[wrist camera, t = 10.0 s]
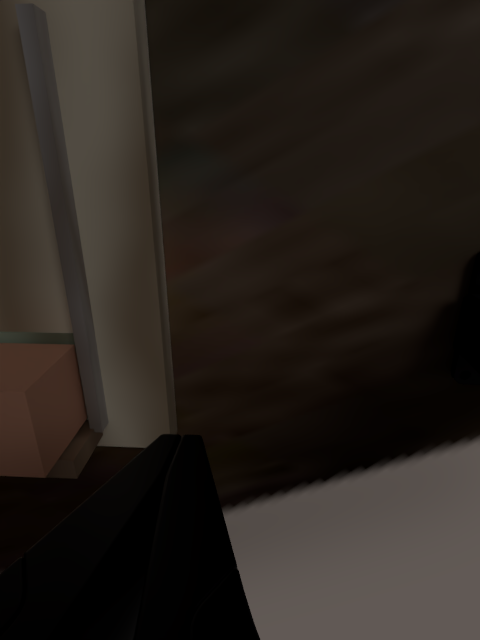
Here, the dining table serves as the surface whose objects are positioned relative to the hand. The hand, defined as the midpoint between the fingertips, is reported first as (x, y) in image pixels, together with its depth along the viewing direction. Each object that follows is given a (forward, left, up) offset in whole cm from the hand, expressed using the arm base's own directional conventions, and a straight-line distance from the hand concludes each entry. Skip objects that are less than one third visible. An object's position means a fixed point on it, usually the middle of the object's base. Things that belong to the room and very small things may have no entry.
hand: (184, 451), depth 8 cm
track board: (+9, -2, -11) cm, 14 cm away
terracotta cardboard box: (+9, +4, -9) cm, 14 cm away
